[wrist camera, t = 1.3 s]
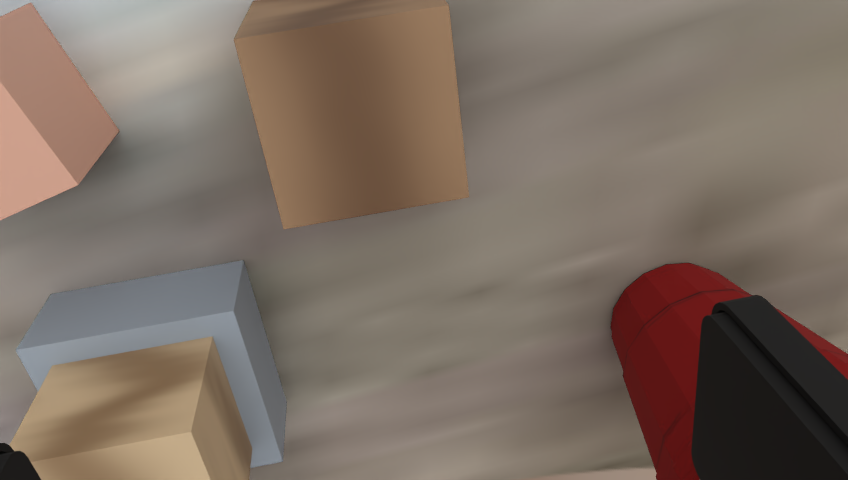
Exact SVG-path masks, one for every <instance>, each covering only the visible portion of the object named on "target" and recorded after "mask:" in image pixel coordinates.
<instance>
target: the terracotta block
mask: <svg viewBox="0 0 848 480" xmlns="http://www.w3.org/2000/svg"><path fill="white" fill-rule="evenodd" d="M118 132H119V130H118V128H117V127H116V125H115V124H114V122H113V121H112V120H111V118H110V117H109V115H108V114H107V112H106V111H105V109H104V108H103V106H102V105H101V104H100V102H99V101H98V99H97V98H96V96H95V95H94V93H93V92H92V90H91V89H90V88H89V86H88V85H87V83H86V82H85V80H84V79H83V77H82V76H81V74H80V73H79V72H78V70H77V69H76V67H75V66H74V64H73V63H72V61H71V60H70V59H69V57H68V56H67V54H66V53H65V51H64V50H63V48H62V47H61V45H60V44H59V43H58V41H57V40H56V38H55V37H54V35H53V34H52V32H51V31H50V29H49V28H48V27H47V25H46V24H45V22H44V21H43V19H42V18H41V16H40V15H39V13H38V12H37V11H36V9H35V8H34V6H33V5H32V3H28V4H26V5H24V6H22V7H20V8H18V9H16V10H14V11H12V12H10V13H7V14H5V15H3V16H1V17H0V220H2V219H4V218H6V217H9V216H11V215H13V214H15V213H17V212H20V211H22V210H24V209H26V208H28V207H31V206H33V205H35V204H37V203H39V202H42V201H44V200H46V199H48V198H51V197H53V196H55V195H57V194H59V193H62V192H64V191H66V190H68V189H70V188H73V187H75V186H77V185H79V183H80V182H81V181H82V179H83V178H84V177H85V175H86V174H87V173H88V171H89V170H90V169H91V168H92V166H93V165H94V164H95V162H96V161H97V160H98V158H99V157H100V156H101V154H102V153H103V152H104V150H105V149H106V148H107V146H108V145H109V144H110V143H111V141H112V140H113V139H114V137H115V136H116V135H117V133H118Z"/></svg>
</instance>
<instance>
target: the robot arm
mask: <svg viewBox="0 0 848 480" xmlns="http://www.w3.org/2000/svg"><path fill="white" fill-rule="evenodd" d="M691 455H692V461H693V464H694V467H695V470H696V472H697V475H698V476H699V478H700V480H848V379H847V378H846V377H845V376H844V375H843V374H841V373H840V372H839V371H838V370H837V369H836V368H835V367H834V366H833V365H832V364H831V363H830V362H829V361H828V360H827V359H826V358H825V357H824V356H823V355H822V354H821V353H820V352H819V351H818V350H817V349H816V348H815V347H814V346H813V345H812V344H811V343H810V342H809V341H808V340H807V339H806V338H805V337H804V336H803V335H802V334H801V333H800V332H799V331H798V330H797V329H796V328H795V327H794V326H793V325H792V324H790V323H789V322H788V321H787V320H786V319H785V318H784V317H783V316H782V315H781V314H780V313H779V312H778V311H777V310H776V309H775V308H774V307H773V306H772V305H771V304H770V303H769V302H768V301H767V300H766V299H764V298H763V297H762V296H758V295H754V296H749V297H744V298H738V299H733V300H728V301H723V302H719V303H716V304H715V305H714V307H713V309H712V314H711V315H707V316H704V318H703V319H702V324H701V335H700V347H699V360H698V372H697V385H696V398H695V410H694V423H693V435H692V448H691ZM0 480H41V478H40V477H39V475H38V473H37V472H36V470H35V468H34V467H33V465H32V463H31V462H30V460H29V458H28V457H27V456H26V454H25V453H23V452H21V451H14V450H13V449H12V448H11V446H9V445H7V444H5V443H0Z"/></svg>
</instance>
